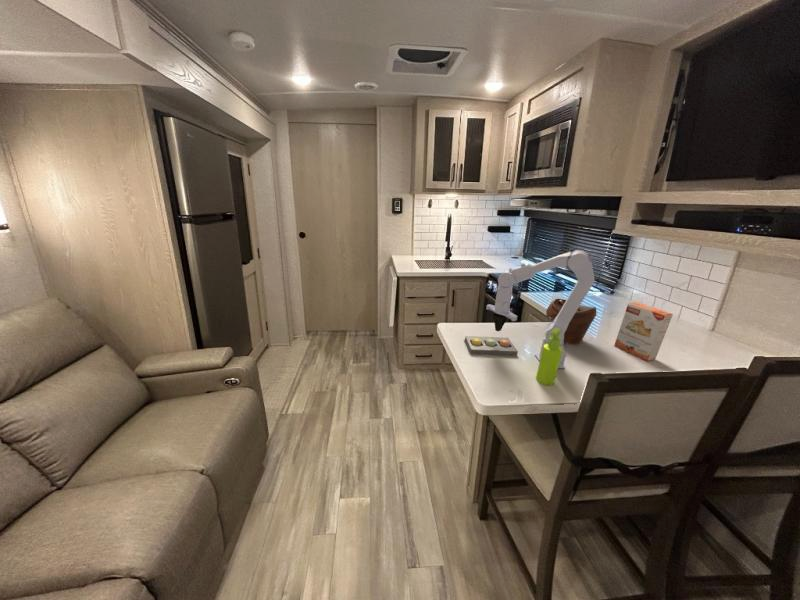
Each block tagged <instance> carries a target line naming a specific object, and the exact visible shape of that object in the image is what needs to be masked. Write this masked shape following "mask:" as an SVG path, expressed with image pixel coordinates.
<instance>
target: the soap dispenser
mask: <svg viewBox="0 0 800 600" xmlns="http://www.w3.org/2000/svg"><path fill="white" fill-rule="evenodd" d="M561 331H562V330H561V329H558V328H555V329H553V330H552V331H551V332H550V334H552V335H553V336H551V337H550V338H549V343H548V344H545V345H544V346H543V350H542V354H541V359H540V361H539V363H538V368H537V372H536V375H535V379H536V381H537V382H538V383H540V384H542V385H544V386H545V385H546V386H552V385H554V384H555V381H556V380H555V379H556V377H557V372H558V370H559V368H558V365H559V362H560V358H561V354H562V348H560V347H559V345H560V341H561V339H560V338H558V337H559V333H560V332H561Z"/></svg>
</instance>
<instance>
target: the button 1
mask: <svg viewBox="0 0 800 600" xmlns="http://www.w3.org/2000/svg"><path fill="white" fill-rule="evenodd" d="M481 342H482V340H481V339H478V338H473V339H472V343H471V344H472V345H478V346H481Z"/></svg>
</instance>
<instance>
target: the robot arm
mask: <svg viewBox="0 0 800 600" xmlns="http://www.w3.org/2000/svg"><path fill="white" fill-rule="evenodd" d="M592 262H593V261H592V259H591V257H590V256H589V254H588V252H586V251H585V250H582V249H576V250H573V251H572V252H571V251H569V252H565V253H561V254H559V255H556V256H554V257H551V258H548V259H546V260H543V261H540V262H538V263H536V264H530V263H520V266H517V267H513V268H512V267H511V268H509V269H507V270H504V271H502V272H501V274H499V276H498V277H497V282H498V285H497V291H496V295H495V302H494V303H495V304H494V305H493V304H487V305H486V310H487V311H491V312H494V313H492V314H491V318H492V319H493V322H494V328H495V331H496V332H501V331H502V329H503V326H504V325H505V323H506V322H507V321H508V320H511V322H516V321H517V320H518V315H516V314H514V313H513V312H511V311H510V310H511V308H510V307H511V306H510V305H511V300H512V295H513V287H514V284H517V283H521V282H524V281H526V280H529V279H532V278H534V277H535V276H536V274H537V273H541V272H545V271H548V270H550V269H554V268H557V267H558V268H561V269H565V270H566V269H567V268H569V270H570V271H572V272H573V273H574V274H575V276H576V279H577V281H576V283H575V284H574V286H573V288H572V289H571V291H570V293H569V295H568V296H567V299H565V300H566V302H565V303H564V305H563V307H562V309H561V310H560V312H559V314H558V315H557V316H556V318H555V319H554V321H552V322H551V321H550V322H549V323H548V324H547V328H546V329H547V330H546V332H545V335H544V336H543V338H542V342H541V346H540V351H539V353H536V354H535V353H534V356H535V358H537V360H538V361H539V362H540V359H541V354H542V350H543V346H544V345H545V344H548V343H549V338H550V337H551V336H553V335H552V334H550V332H551V331H552V330H553V329H555V328H558V329H561V330H562V331H561V332H560V333H559V337H558V338H560V339H561V341H560V345H559V347H560V348H562V354H561V358H560V362H559V365H558V369H566V366H565V361H566V358H567V351H566V350H565V348H564V343H565V342H564V333H565V331H566V329H567V327H568V324H569V322H570V321H571V319H572V318H573V316H574V314H575V313H576V311H577V309H578V308H579V306H580V305H582V302H583V301H584V299H585V298H586V296H587V295H588V293H589V292H590V289H592V287H593V285H594V283H595V275H594V267H593V263H592Z"/></svg>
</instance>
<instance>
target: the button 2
mask: <svg viewBox="0 0 800 600" xmlns="http://www.w3.org/2000/svg"><path fill="white" fill-rule="evenodd" d="M510 341H511V340H510ZM510 341H508V340H505V339H501V340H500V344H499V345H500V346H501V347H509V345H510Z"/></svg>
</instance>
